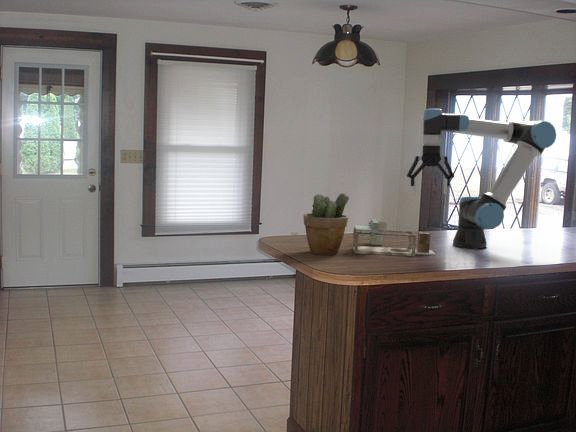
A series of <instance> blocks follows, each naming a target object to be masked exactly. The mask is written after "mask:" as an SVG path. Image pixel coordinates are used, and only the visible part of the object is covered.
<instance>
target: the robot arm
mask: <svg viewBox="0 0 576 432" xmlns="http://www.w3.org/2000/svg"><path fill="white" fill-rule="evenodd" d="M422 122H423V123H422V124H423V125H422V127H423V129H422V130H423V135H422V144H423V145H422V150H421V151H422V152H421V153H422V154H421V156H418V155H415V156H414V161H413V163H412V164H411V167H410V168H409V170H408V171H407V174H406V178H409V179H410V186H411V187H412V194H413V195H416V194H417V178H416V177H417V176H418V175H419V174H420V173H421V171H422V170H423V169H425V167H433V168H434V167H437V169H438V170H439V171H440V172H441V174H442V175H443V177H444V179H443V195H448V187H450V184H451V183H450V180H451V179H453V178H455V175H454V172H453V170H452V168H451V165H450V163H449V161H448V156H445V155H444V156H441V146H440V145H441V144H442V143H441V139H442V137H441V136H442V132H445V133H446V132H447V133H454V134H461V135H470V136H476V137H483V138H491V139H498V140H503V142H505V143H510V144H515V145H517V148H516V149H515V150H514V153H513V154H512V155H511V157H509V158H510V159H509V160H508V161H507V163H506V165H504V168H503V169H502V171H501V172H500V173H499V175H498V176H497V178H496V180H495V181H494V183H493V184H492V186H491V188H490V189H489V190H488V192H483V193H482V195H481V196H461V198H460V200H459V203H458V206H459V208H458V219H457V220H458V223H457V230H456V232H455V234H454V238H453V240H452V245H453V246H454V247H459V248H464V249H465V248H466V249H472V248H483V249H485V248H484V247H486V248H487V244H488V243H487V239H486V238H487V237H486V235H485V230H486V229H487V230H492V229H496V228H497V227H499V226H500V225H501V224H502V223H503V221H504V217H505V213H504V212H505V210H506V209H507V204H506V202H507V201H508V199H509V198H510V196H511V194H512V193H513V192H514V190H515V188H516V187H517V185H518V184H519V182H520V181H521V179H522V177H523V176H524V175H525V173H526V172H527V171H528V169H529V167H530V166H531V164H532V162H534V159H535V158H536V157H539V156H540V157H541V155H542V154H543V152H544V151H545V149H548V148H550V147H551V146H552V145H554V144H555V141H556V139H557V132H556V131H557V130H556V128H555V126H554V125H553V124H552V123H551V122H549V121H547V120H541V119H540V120H525V121H524V120H523V121H513V120H512V121H511V120H508V121H507V122H504V121H503V122H502V121H493V120H488V119H487V120H486V119H480V118H479V119H478V118H474V117H473V118H472V117H469V116H468V114H466V113H444V112H443V110H442V109H441V108H426V109H425V110H424V112H423V121H422ZM420 161H421V162H422V163H421V164H420V166H418V168H416V167H417V165H418V163H419V162H420ZM440 162H443V164H444V166H445V168H446V170H445V169H444V168H443V166H442V165H441V164H440ZM415 169H416V170H415Z"/></svg>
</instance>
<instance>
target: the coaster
mask: <svg viewBox="0 0 576 432" xmlns="http://www.w3.org/2000/svg"><path fill="white" fill-rule="evenodd" d="M411 250H412V248H411ZM415 255H425V256H426V255H427V256H436V253H435V252H434V251H433V250H431V249H429V253H428V252H418V251H417V248H415Z"/></svg>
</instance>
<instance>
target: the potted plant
mask: <svg viewBox="0 0 576 432" xmlns="http://www.w3.org/2000/svg"><path fill="white" fill-rule="evenodd" d="M349 200H350V197H349V195H347V194H346V193H344V192H342V193H339V195H338V196H337V197H336V200H331V199H330V197H329V196H324V195H323V194H320V193H318V194H315V195H314V196H313V203H312V210H311V212H308V213H307V212H306V213H303V214H302V215H303V225H304V228H305V234H306V240H307V244H308V248H309V252H310V253H311V254H314V255H318V254H319V255H320V256H333V255H337V254H338V253H339V250H340V247H341V246H342V245H341V244H342V241H343V239H344V234H345V232H346V228H347V225H348V220H349V216H348V215H346V214H343V213H344V210H345V208H346V204H347V203H348V201H349Z"/></svg>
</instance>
